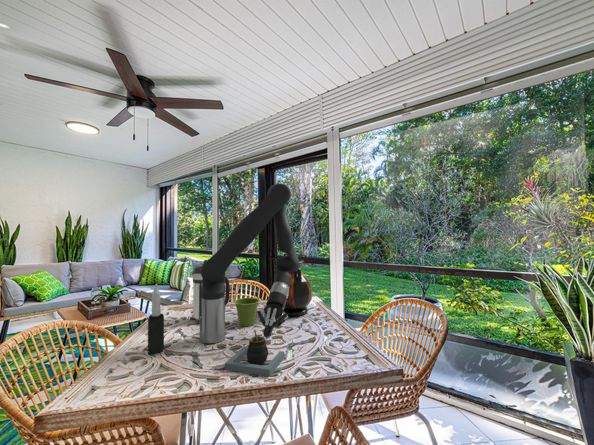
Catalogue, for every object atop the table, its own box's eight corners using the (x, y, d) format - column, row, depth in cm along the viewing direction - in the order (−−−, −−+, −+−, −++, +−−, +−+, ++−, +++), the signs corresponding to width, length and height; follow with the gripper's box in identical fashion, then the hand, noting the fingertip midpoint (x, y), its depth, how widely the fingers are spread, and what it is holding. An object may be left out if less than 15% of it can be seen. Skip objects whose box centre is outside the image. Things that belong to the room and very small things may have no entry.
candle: (149, 349, 106) (149, 283, 107) (164, 347, 108) (164, 282, 109) (147, 355, 101) (147, 285, 102) (162, 353, 103) (163, 284, 104)
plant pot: (229, 327, 129) (229, 303, 129) (241, 319, 140) (240, 297, 141) (253, 329, 126) (253, 304, 126) (263, 321, 138) (263, 298, 138)
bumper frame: (224, 369, 91) (224, 362, 91) (244, 352, 103) (244, 346, 103) (269, 376, 86) (269, 369, 86) (284, 357, 99) (284, 351, 99)
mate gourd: (251, 370, 90) (251, 338, 90) (243, 361, 97) (242, 331, 97) (271, 364, 94) (271, 333, 94) (262, 355, 100) (261, 327, 101)
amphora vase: (267, 310, 157) (267, 259, 158) (302, 305, 166) (301, 257, 167) (281, 321, 137) (281, 264, 138) (320, 315, 146) (319, 261, 147)
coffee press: (214, 325, 132) (214, 261, 133) (184, 323, 135) (183, 261, 136) (230, 314, 149) (229, 258, 150) (202, 313, 152) (202, 257, 153)
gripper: (260, 289, 115) (246, 330, 103) (291, 291, 111) (280, 334, 99) (266, 299, 120) (253, 339, 108) (295, 301, 116) (285, 343, 104)
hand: (266, 336), depth 103 cm, fingers closed
